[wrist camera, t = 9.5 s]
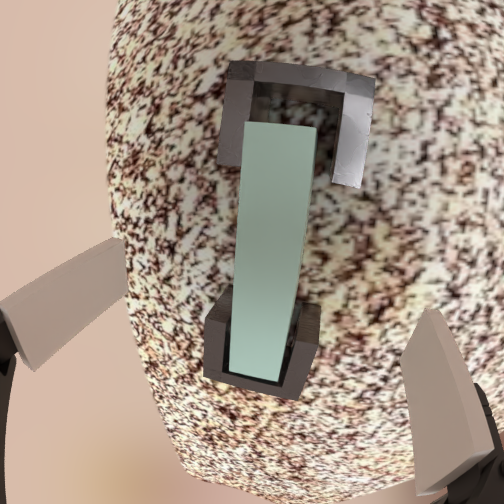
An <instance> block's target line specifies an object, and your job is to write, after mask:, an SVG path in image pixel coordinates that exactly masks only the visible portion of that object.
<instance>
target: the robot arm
mask: <svg viewBox="0 0 504 504" xmlns="http://www.w3.org/2000/svg"><path fill="white" fill-rule="evenodd" d="M128 292H129V291H128V282H127V271H126V260H125V245H124V240H121V239H117V238H113V237H112V238H110V239H108V240H106V241H104V242H102V243H100V244H98V245H96V246H94V247H93V248H91V249H89V250H87V251H85V252H83V253H81V254H79V255H77V256H76V257H74V258H72V259H70V260H68V261H67V262H65V263H63V264H61V265H60V266H58V267H56V268H54V269H52V270H51V271H49V272H47V273H45V274H44V275H42V276H40V277H39V278H37V279H35V280H34V281H32V282H30V283H29V284H27V285H26V286H24V287H22V288H21V289H19V290H17V291H16V292H14V293H13V294H11V295H10V296H8V297H6V298H5V299H3V300H2V301H0V504H6V493H5V476H4V475H5V472H4V456H5V434H6V422H7V413H8V406H9V399H10V392H11V387H12V381H13V376H14V371H15V367H16V357H15V355H14V354H15V353H16V352H19V354H20V356H21V359H22V360H23V363H24V364H26V365H27V366H28V367H29V368H30V369H31V370H33V372H35V371H36V370H37V369H38V368H39V367H40V366H41V365H42V364H44V363H45V362H46V361H47V360H48V359H49V358H50V357H51V356H53V354H55V353H56V352H57V351H58V350H59V349H61V348H62V347H63V346H64V345H65V344H66V343H67V342H69V341H70V340H71V339H72V338H73V337H74V336H76V335H77V334H78V333H79V332H80V331H81V330H83V329H84V328H85V327H86V326H87V325H89V324H90V323H91V322H92V321H93V320H95V319H96V318H97V317H98V316H99V315H101V314H102V313H103V312H104V311H106V310H107V309H108V308H109V307H110V306H112V305H113V304H114V303H115V302H117V300H119V299H120V298H122V297H123V296H124V295H125V294H127V293H128ZM399 360H400V365H401V370H402V375H403V380H404V386H405V391H406V397H407V403H408V410H409V417H410V424H411V432H412V441H413V452H414V465H415V485H416V496H421V495H428V494H435V493H437V492H438V491H440V490H442V489H443V488H445V487H446V486H447V489H448V493H447V494H445V495H444V496H442V497H440V498H439V499H437V500H435V501H433V502H432V503H431V504H504V450H503V447H502V444H501V440H500V437H499V433H498V430H497V427H496V423H495V420H494V417H492V411H491V409H490V407H489V403H488V400H487V398H486V395H485V393H484V392H483V390H482V389H481V388H480V386H479V385H478V384H477V383H473V381H472V378H471V376H470V373H469V371H468V368H467V366H466V364H465V361H464V359H463V357H462V355H461V352H460V350H459V348H458V346H457V344H456V342H455V340H454V337H453V335H452V333H451V331H450V329H449V327H448V325H447V323H446V321H445V319H444V317H443V316H442V314H441V312H440V311H439V310H433V309H428V308H425V309H424V311H423V313H422V316H421V318H420V320H419V322H418V324H417V326H416V328H415V330H414V332H413V334H412V336H411V338H410V340H409V342H408V344H407V346H406V348H405V350H404V352H403V354H402V355H401V357H400V359H399Z"/></svg>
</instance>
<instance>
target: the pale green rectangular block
mask: <svg viewBox="0 0 504 504" xmlns="http://www.w3.org/2000/svg"><path fill="white" fill-rule="evenodd" d="M317 140H318V134H317V129H316V128H314V127H306V126H297V125H287V124H276V123H263V122H245V126H244V139H243V151H242V164H241V177H240V191H239V205H238V220H237V235H236V250H235V267H234V284H233V302H232V320H231V340H230V362H229V371H232V372H236V373H240V374H244V375H248V376H253V377H257V378H262V379H267V380H272V381H277V382H278V378H279V374H280V370H281V366H282V362H283V357H284V353H285V349H286V345H287V341H288V336H289V331H290V326H291V321H292V316H293V310H294V305H295V299H296V293H297V288H298V282H299V276H300V270H301V264H302V257H303V251H304V244H305V237H306V231H307V224H308V216H309V209H310V201H311V193H312V185H313V177H314V168H315V159H316V150H317Z"/></svg>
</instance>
